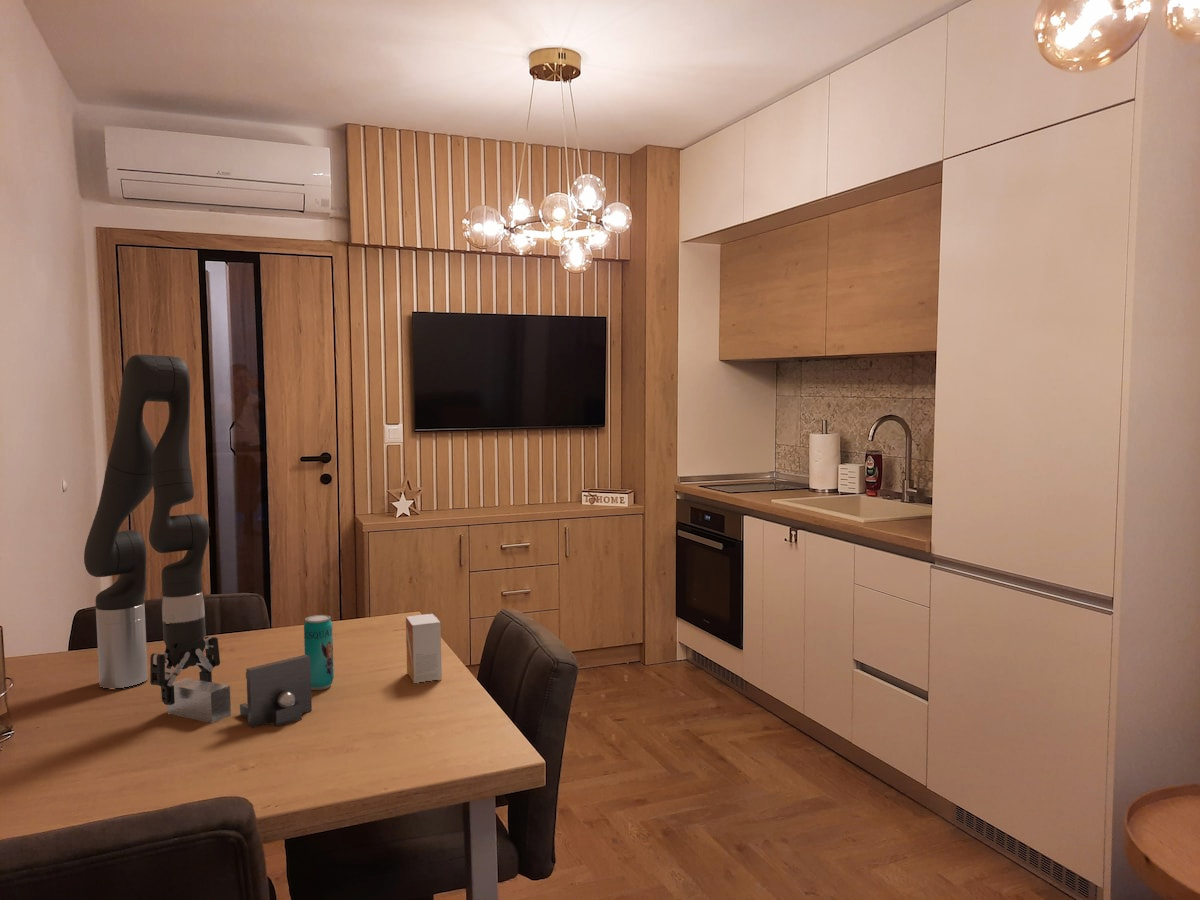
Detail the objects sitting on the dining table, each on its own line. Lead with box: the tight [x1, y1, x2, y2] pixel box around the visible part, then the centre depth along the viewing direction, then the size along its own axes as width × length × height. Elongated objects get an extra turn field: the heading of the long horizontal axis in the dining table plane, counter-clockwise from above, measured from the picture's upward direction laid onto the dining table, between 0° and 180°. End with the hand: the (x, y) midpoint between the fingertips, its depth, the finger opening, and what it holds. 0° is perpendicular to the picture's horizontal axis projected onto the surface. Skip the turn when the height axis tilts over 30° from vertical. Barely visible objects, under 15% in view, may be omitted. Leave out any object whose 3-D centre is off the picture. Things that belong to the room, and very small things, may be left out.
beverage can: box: [303, 614, 335, 691], centre depth 181 cm, size 6×6×15 cm
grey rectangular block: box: [166, 677, 232, 724], centre depth 166 cm, size 13×4×6 cm, turn 66°
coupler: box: [239, 654, 313, 729], centre depth 165 cm, size 12×12×11 cm
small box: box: [405, 613, 443, 684], centre depth 187 cm, size 8×6×13 cm
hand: (187, 697), depth 168 cm, fingers open, 8 cm apart
